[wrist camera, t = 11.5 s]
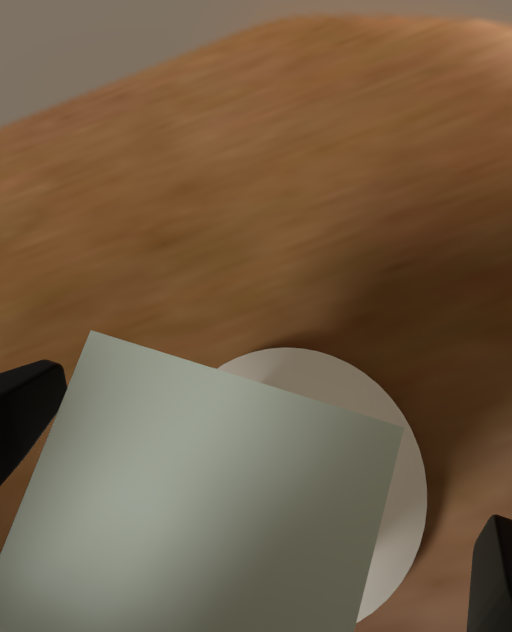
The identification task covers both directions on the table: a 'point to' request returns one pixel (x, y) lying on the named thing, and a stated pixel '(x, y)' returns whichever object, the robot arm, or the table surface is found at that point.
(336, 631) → the sage block
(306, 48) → the table surface
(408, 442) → the coaster
